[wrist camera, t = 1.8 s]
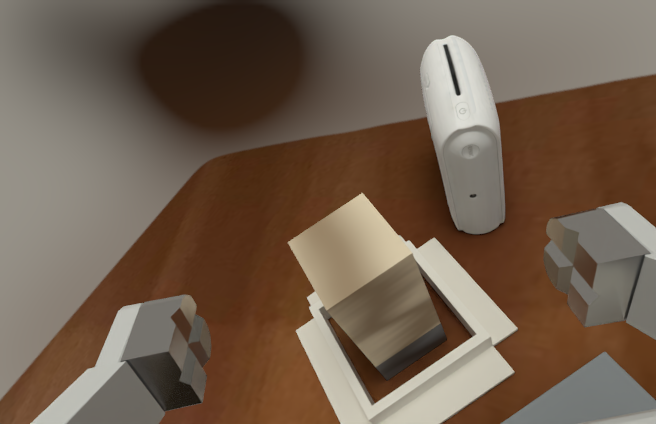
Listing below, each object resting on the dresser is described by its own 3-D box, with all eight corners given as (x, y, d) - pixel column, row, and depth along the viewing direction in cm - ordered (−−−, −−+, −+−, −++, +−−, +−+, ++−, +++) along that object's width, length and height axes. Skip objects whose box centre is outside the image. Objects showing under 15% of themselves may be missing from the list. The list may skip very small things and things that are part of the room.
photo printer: (513, 231, 33) (506, 109, 24) (455, 241, 34) (427, 129, 25) (485, 136, 39) (471, 11, 30) (437, 148, 41) (409, 30, 31)
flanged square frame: (420, 223, 36) (416, 209, 35) (540, 355, 28) (541, 344, 26) (287, 312, 36) (277, 302, 34) (366, 475, 27) (357, 471, 26)
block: (407, 287, 34) (362, 192, 25) (447, 339, 30) (412, 252, 21) (352, 323, 33) (287, 242, 24) (387, 380, 30) (326, 310, 21)
